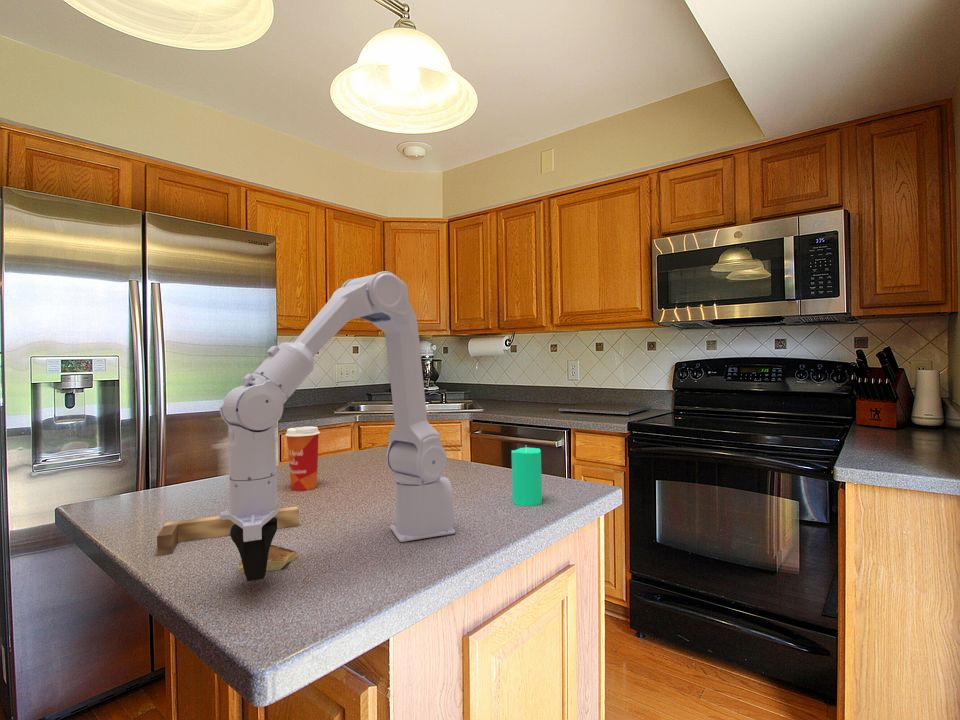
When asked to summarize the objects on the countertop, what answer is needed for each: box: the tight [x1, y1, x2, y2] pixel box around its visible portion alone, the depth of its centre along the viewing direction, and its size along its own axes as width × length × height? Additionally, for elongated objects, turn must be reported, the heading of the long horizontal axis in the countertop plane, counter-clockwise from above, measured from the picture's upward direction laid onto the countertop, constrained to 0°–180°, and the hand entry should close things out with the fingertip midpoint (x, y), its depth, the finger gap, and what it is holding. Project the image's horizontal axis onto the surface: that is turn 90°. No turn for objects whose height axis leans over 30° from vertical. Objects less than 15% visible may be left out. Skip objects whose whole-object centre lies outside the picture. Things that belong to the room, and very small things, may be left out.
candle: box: [511, 446, 543, 507], centre depth 104 cm, size 6×6×12 cm
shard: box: [237, 544, 298, 575], centre depth 78 cm, size 11×8×2 cm
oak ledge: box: [156, 505, 300, 557], centre depth 87 cm, size 21×8×3 cm, turn 112°
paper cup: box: [284, 425, 321, 492], centre depth 121 cm, size 8×8×14 cm
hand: (255, 578), depth 68 cm, fingers closed
